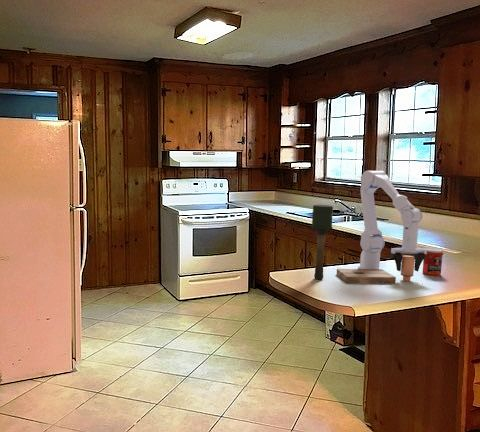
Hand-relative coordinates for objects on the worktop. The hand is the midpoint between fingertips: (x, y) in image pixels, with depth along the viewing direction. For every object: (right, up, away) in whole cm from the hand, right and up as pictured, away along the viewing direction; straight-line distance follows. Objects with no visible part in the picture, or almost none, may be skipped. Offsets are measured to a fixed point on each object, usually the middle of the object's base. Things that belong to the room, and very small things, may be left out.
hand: (407, 270), depth 216 cm
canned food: (+15, -3, +15) cm, 21 cm away
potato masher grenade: (-37, -3, -3) cm, 37 cm away
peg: (0, -4, +1) cm, 4 cm away
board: (-17, -3, 0) cm, 18 cm away
